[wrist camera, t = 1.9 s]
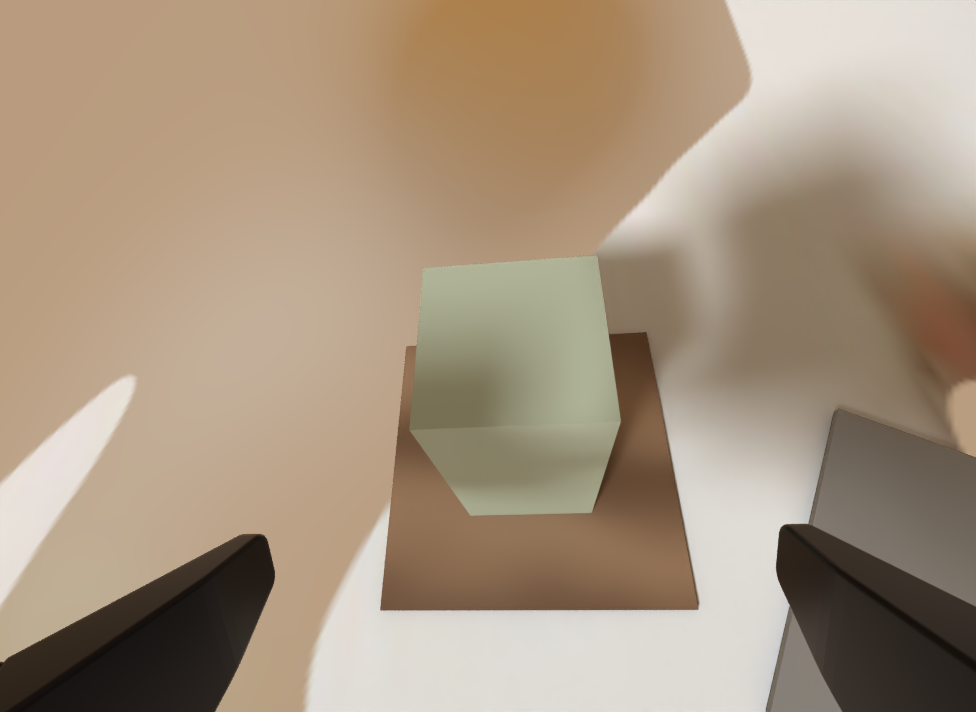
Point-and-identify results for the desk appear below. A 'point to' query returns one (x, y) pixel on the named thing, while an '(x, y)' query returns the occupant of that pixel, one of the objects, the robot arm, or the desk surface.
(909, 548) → the slate mat
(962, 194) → the desk surface
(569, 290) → the sage block
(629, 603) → the plate
